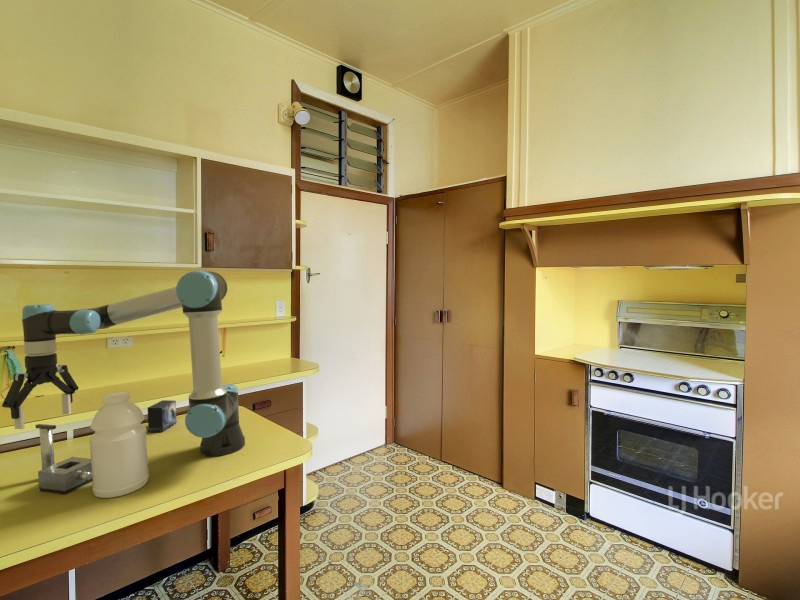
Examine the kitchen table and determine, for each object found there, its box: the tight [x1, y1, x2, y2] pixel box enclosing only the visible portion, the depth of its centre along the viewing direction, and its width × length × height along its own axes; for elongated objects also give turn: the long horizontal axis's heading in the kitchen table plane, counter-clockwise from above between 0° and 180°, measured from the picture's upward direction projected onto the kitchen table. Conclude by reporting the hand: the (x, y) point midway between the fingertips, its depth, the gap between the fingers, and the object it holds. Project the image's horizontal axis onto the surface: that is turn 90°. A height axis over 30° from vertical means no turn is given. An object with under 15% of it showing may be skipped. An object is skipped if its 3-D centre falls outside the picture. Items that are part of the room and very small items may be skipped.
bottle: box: [89, 391, 150, 499], centre depth 120 cm, size 14×14×28 cm
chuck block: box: [37, 456, 93, 495], centre depth 123 cm, size 12×10×6 cm
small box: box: [147, 399, 178, 433], centre depth 170 cm, size 11×6×10 cm, turn 179°
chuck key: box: [35, 423, 57, 470], centre depth 127 cm, size 7×3×17 cm, turn 77°
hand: (44, 420), depth 127 cm, fingers open, 13 cm apart
